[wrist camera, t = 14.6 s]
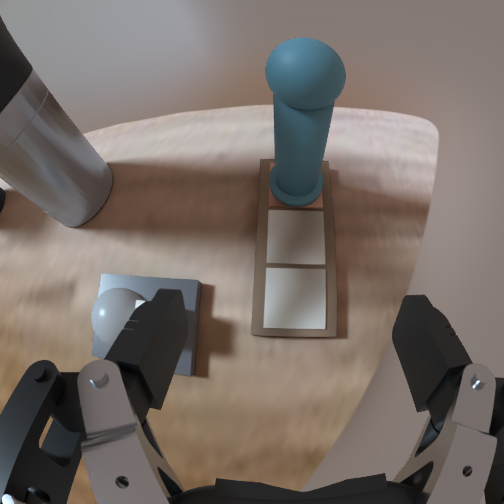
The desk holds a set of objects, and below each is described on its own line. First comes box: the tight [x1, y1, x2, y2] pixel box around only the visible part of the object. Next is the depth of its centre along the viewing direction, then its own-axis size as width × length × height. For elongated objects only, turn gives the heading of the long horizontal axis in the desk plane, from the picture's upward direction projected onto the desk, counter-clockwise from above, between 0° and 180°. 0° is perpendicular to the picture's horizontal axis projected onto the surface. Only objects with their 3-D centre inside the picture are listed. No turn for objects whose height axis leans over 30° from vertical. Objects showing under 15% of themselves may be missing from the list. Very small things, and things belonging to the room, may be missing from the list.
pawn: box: [265, 38, 346, 207], centre depth 18 cm, size 5×5×14 cm
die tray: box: [91, 274, 202, 376], centre depth 22 cm, size 10×8×6 cm
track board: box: [251, 159, 337, 337], centre depth 23 cm, size 7×16×1 cm, turn 177°
